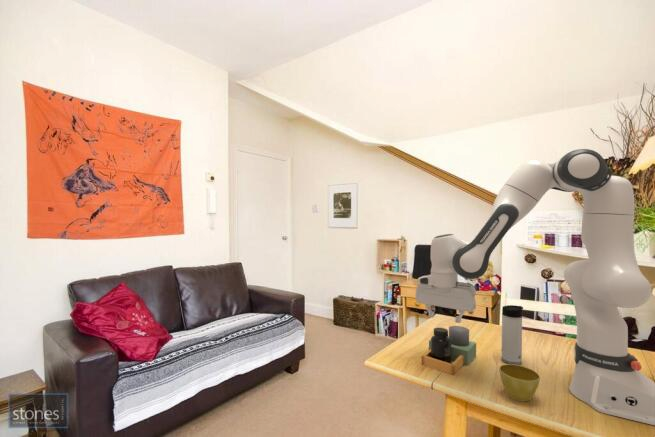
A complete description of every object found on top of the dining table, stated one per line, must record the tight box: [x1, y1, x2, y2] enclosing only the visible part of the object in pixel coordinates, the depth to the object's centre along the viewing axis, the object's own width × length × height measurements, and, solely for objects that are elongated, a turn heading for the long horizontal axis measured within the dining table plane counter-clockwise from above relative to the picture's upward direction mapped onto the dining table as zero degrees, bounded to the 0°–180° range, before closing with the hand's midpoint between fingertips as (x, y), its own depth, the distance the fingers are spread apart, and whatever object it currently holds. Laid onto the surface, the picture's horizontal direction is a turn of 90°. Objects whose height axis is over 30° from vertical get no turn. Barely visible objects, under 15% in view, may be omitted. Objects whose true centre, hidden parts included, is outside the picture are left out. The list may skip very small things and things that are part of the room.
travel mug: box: [500, 304, 524, 366], centre depth 113 cm, size 6×7×20 cm
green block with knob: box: [428, 325, 477, 366], centre depth 118 cm, size 14×10×10 cm
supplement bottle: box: [430, 327, 452, 364], centre depth 111 cm, size 7×7×12 cm
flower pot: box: [498, 363, 541, 402], centre depth 91 cm, size 10×10×7 cm
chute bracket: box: [421, 349, 464, 376], centre depth 110 cm, size 11×10×3 cm
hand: (444, 319), depth 110 cm, fingers open, 8 cm apart
